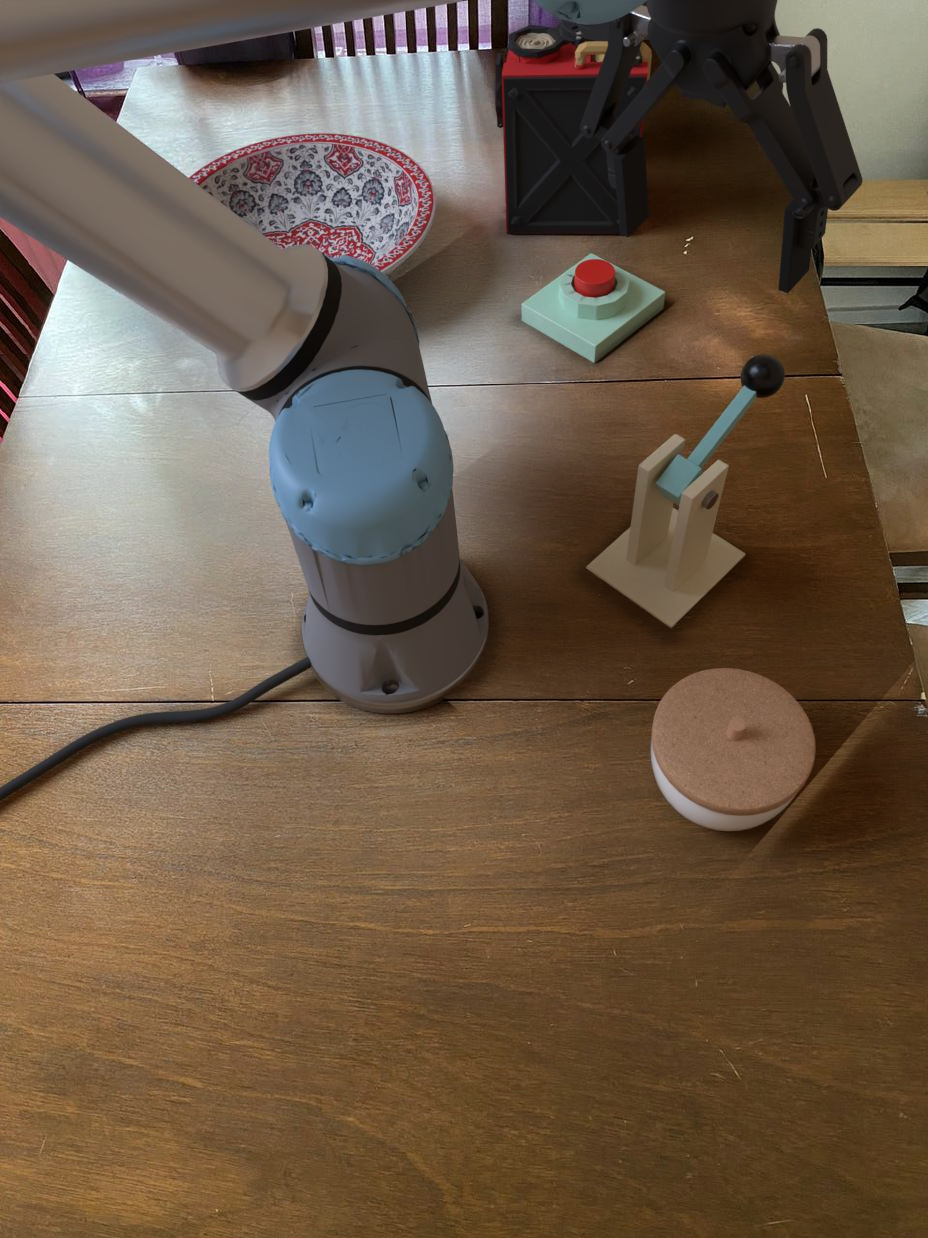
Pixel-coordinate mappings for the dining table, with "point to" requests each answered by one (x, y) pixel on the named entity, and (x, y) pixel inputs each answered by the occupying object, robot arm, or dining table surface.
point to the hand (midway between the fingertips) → (710, 251)
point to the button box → (592, 312)
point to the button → (594, 278)
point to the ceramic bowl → (328, 195)
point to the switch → (723, 424)
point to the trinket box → (730, 748)
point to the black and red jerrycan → (557, 131)
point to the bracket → (669, 541)
